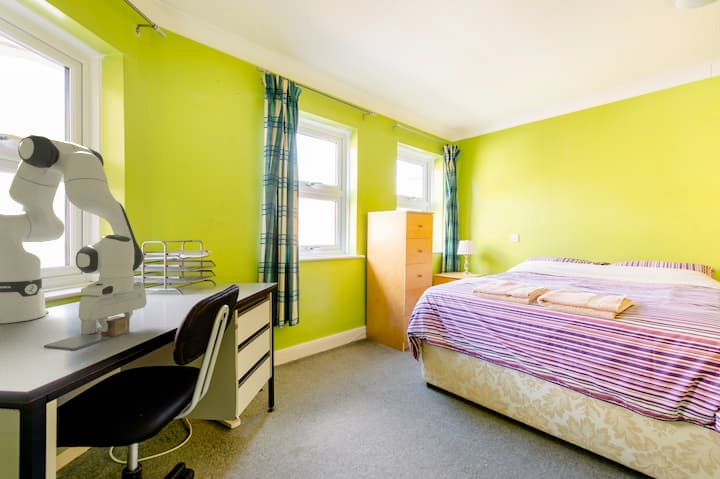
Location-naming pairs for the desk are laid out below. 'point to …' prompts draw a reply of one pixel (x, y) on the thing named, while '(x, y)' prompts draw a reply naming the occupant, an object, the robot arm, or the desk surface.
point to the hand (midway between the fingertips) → (115, 328)
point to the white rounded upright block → (89, 327)
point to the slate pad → (76, 342)
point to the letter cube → (117, 326)
